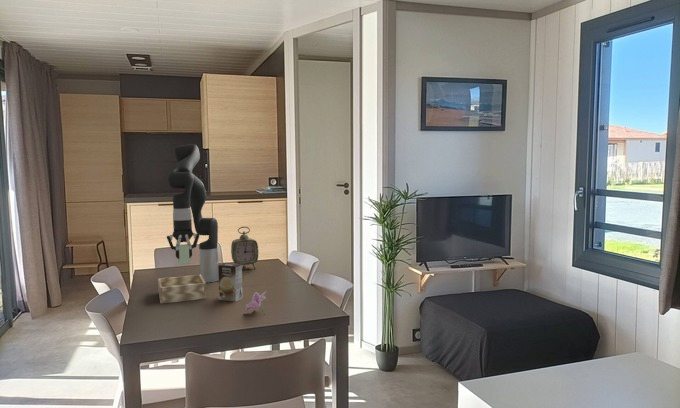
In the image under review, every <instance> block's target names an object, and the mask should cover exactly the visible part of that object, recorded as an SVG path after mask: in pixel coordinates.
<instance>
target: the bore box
mask: <svg viewBox="0 0 680 408" xmlns="http://www.w3.org/2000/svg"><path fill="white" fill-rule="evenodd" d="M157 285H158V286H157V287H158V288H157V289H158V296H159V297H158V298H159V302H160V304H166V303H168V304H169V303H177V302H186V301H187V302H188V301H196V300H204V299H207V298H208V297H207V294H208V293H207V282H205V281H204V279H203V277H202V276H201V275H200V274H196V275H195V274H194V275H193V274H192V275H184V276H183V275H182V276H174V277H170V276H169V277H162V278H157Z"/></svg>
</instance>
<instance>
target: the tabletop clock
mask: <svg viewBox="0 0 680 408" xmlns="http://www.w3.org/2000/svg"><path fill="white" fill-rule="evenodd" d="M240 229H247V230H248V231H242V232H240ZM250 232H251V230H250V227H248V226H240V227H238V229H237V233H239V234H241V235H239V238H236V239H234V240H231V241H232V242H231V246H230V254H231V255H230V256H231V260H232V261H233V262H232V263H237V264H242V269H244V268H245V269H246V265H252V267H253V269H254V270H256V269H257V266H255V263H257V262H258V260H259V245H258V242H257V240H255V239H253V238H251V237H249V236H248V234H249V233H250Z"/></svg>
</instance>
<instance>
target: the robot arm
mask: <svg viewBox="0 0 680 408" xmlns="http://www.w3.org/2000/svg"><path fill="white" fill-rule="evenodd" d="M200 153H201V152H200V150H199V147H198V146H197V144H195V143H189V144H183V145H176V146H175V147H174V157H175V161H176V163H177V164H176V166H175V168H174V169H172V170H171V171H170V172H169V174H168V175H167V181H166V182H167V184H168V187H170V188H171V189H173V190H174V189H179V190H180V189H184V191H183V192H181V193H177V194H174V195H173V197H172V206H173V207H172V208H173V209H172V221H173V222H172V224H173V232H172V234H169V235H166V239H167V242H168V244H169V246H170V249H171V250H174V251H175V257H176V259H177V260H179V245H180V244H181V243H186V244H188V245H189V259H191V258H192V256H193V249H195V248H196V247H197V244H198V241H199V238H200V236H208V238H207V240H205V241H201V242H200V243H199V245H198V249H199V250H198V253H199V254H198V256H199V275H201V276H202V277H203V279H204V281H205V282H206V283H214V282H219V272H218V265H220V264H219V257H218V241H219V238H218V237H219V236H218V235H219V230H218V229H219V223H218V220H217V219H216V217H203V216H202V210H203V207H204V205H205V203H206V200H207V191H206V188H205V185H204V183H203V181H202V180H201V179H199V177H197V176H196V175H195V174H194V173H193V169H194V168H195V166H196V165H197V164H198V163H199V161H200V159H201V154H200ZM192 218H193V219H192ZM192 221H193V224H192ZM193 225H194V226H193ZM193 227H194V230H195V232H196V233H195V232H194V231H193ZM192 237H193V238H194V240H193V242H192V243H191V238H192ZM173 238H174V239H175V241H176V242H175V245H174V244H173Z"/></svg>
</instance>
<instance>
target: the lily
mask: <svg viewBox="0 0 680 408" xmlns="http://www.w3.org/2000/svg"><path fill="white" fill-rule="evenodd" d="M266 293H267V290H265V291H264V292H262V293H261V294H260V293H259V292H258V291H255V292H254V294H253V296H252V298H251V301H249V303H247V304H246V305H245V307H246V308H245V310H244V312H243V313H242V314H243V315H245V314H247V312H248V311H250V310H251V309H252V310H254V311H257V309H258V308H260V309H261V311H262V312H263V316H264V315H266V313H265V311H264V310H263V308H262V307H261V303H262V302H263V300H265V299H267V297H266V296H265V294H266Z"/></svg>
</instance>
